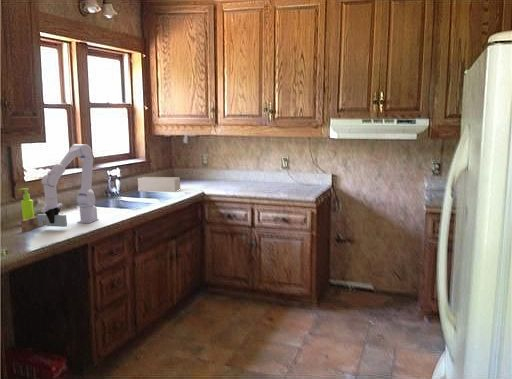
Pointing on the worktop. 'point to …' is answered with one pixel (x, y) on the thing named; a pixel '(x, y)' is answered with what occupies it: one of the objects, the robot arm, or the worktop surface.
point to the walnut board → (30, 224)
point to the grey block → (58, 220)
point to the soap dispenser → (27, 205)
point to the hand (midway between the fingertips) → (53, 222)
